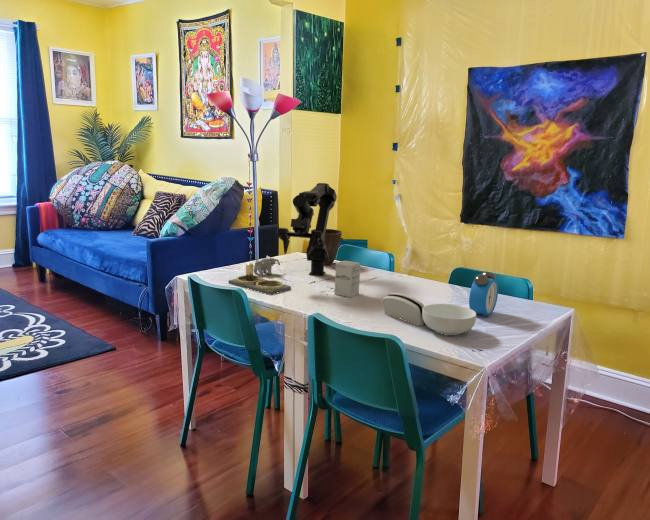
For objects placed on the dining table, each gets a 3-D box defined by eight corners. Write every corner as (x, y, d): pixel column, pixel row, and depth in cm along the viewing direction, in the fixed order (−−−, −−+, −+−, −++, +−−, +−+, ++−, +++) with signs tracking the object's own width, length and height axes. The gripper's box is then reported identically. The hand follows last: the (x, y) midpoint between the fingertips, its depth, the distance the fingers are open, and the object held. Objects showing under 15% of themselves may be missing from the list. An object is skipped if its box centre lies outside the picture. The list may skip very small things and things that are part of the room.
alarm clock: (483, 320, 190) (487, 278, 187) (466, 316, 194) (470, 274, 191) (496, 311, 201) (500, 271, 197) (480, 308, 204) (483, 268, 201)
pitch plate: (228, 283, 228) (228, 263, 226) (250, 278, 237) (250, 259, 235) (269, 294, 213) (269, 274, 211) (291, 289, 222) (291, 269, 220)
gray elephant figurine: (249, 274, 245) (249, 257, 243) (268, 268, 254) (268, 252, 252) (264, 278, 239) (264, 261, 237) (283, 272, 248) (283, 255, 246)
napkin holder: (431, 323, 185) (427, 298, 181) (422, 330, 183) (418, 305, 179) (393, 311, 197) (388, 287, 193) (384, 317, 195) (379, 293, 191)
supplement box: (333, 294, 216) (335, 262, 214) (343, 290, 222) (344, 259, 220) (350, 297, 212) (351, 265, 210) (359, 293, 219) (361, 262, 216)
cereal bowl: (485, 334, 176) (487, 313, 174) (449, 344, 167) (451, 322, 165) (445, 320, 189) (447, 300, 188) (410, 328, 180) (411, 307, 178)
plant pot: (329, 259, 279) (330, 227, 276) (346, 265, 267) (348, 232, 264) (304, 262, 271) (305, 229, 268) (320, 268, 259) (321, 234, 256)
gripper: (277, 208, 219) (267, 243, 213) (322, 211, 214) (313, 247, 208) (284, 221, 229) (276, 255, 223) (328, 225, 224) (320, 260, 218)
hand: (295, 254), depth 218 cm, fingers open, 9 cm apart
